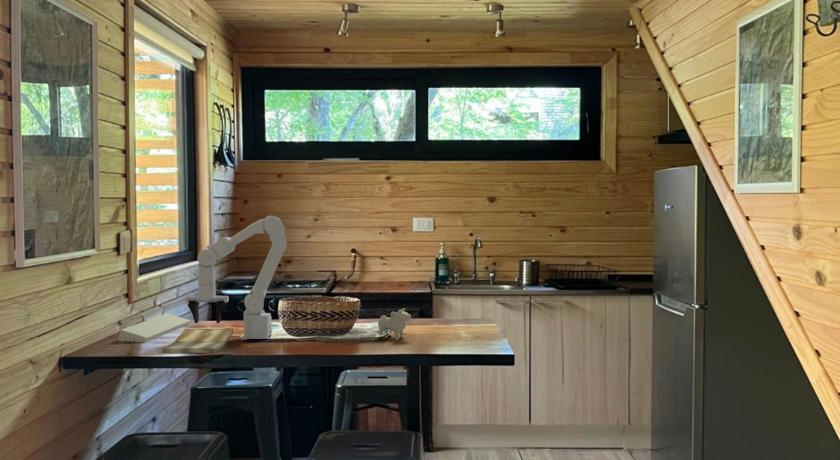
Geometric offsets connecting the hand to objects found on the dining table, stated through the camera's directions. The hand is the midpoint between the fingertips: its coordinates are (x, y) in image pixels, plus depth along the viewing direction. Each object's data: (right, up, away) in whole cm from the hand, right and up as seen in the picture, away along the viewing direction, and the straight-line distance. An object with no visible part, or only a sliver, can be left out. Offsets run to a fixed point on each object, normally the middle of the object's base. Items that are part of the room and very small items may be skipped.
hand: (207, 322), depth 237 cm
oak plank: (0, -5, -3) cm, 6 cm away
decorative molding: (-24, -7, +16) cm, 30 cm away
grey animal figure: (+65, -6, +4) cm, 66 cm away
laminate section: (0, -7, -13) cm, 15 cm away
